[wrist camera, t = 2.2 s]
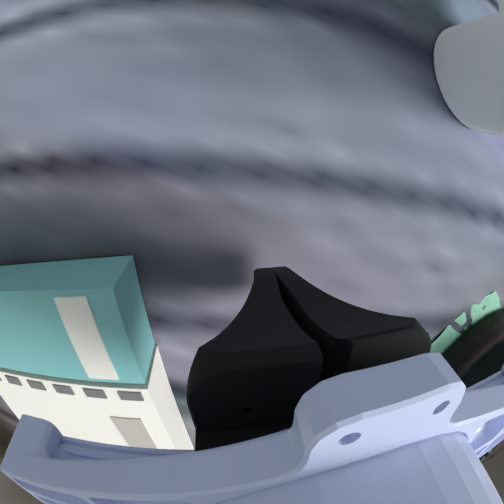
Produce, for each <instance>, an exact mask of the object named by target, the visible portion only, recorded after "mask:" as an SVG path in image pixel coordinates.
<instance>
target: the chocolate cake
mask: <svg viewBox="0 0 504 504" xmlns="http://www.w3.org/2000/svg"><path fill="white" fill-rule="evenodd" d="M484 305H486V308H485V309H482V307H483V306H484ZM471 318H472V319H473V320H472V323H471V324H470V325H469V326H468V327H465V328H464V330H465V331H464V332H462V333H459V332H457V331H456V330H455V329H453V328H452V326H451V325H448V327H447V328H446V329H445V330H444V331H443V333H442V334H441V335H440V336H439V337H438V338H437V339H436V340H435V341H434V342H433V343H432V344H431V350H430V353H438V352H440V354H441V355H442V356H443V357H444V359H445V360H446V361H447V362H448V364H449V365H450V366H451V368H452V369H453V370H454V371H455V373H456V374H457V375H458V377H459V378H460V379H461V380H462V382H463V383H464V385H465V386H466V388H468V387H470V386H472V385H474V384H476V383H478V382H480V381H482V380H484V379H486V378H488V377H490V376H492V375H493V374H495V373H497V372H499V371H500V370H501V369H502V366H503V364H504V308H502V307H500V303H499V297H498V295H497V292H496V291H495V292H493V293H492V294H489V295H487V296H485V297H484V299H483V300H482V301H481V303H480V304H479V305H476V304H474V305H472V306H471ZM454 321H455V322H457V323H458V325H460V326H462V325H464V324H465V322H466V314H465V312H463V313H462V314H461V315H460V316H459V317H458V318H456V319H455V320H454ZM502 449H504V439H503V440H502V441H501V442H499V443H498V444H497V445H496V446H494V447H493V448H492V449H490V450H489V451H488V452H486V453H485V454H484V455H482V456H481V457H480V458H479V460H480V462H481V463H483V462H484V461H486V460H489V459H491V458H492V457H494V456H495V455H496V454H497V453H499V452H500V451H501V450H502Z"/></svg>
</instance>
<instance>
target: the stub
mask: <svg viewBox="0 0 504 504" xmlns="http://www.w3.org/2000/svg"><path fill="white" fill-rule="evenodd" d="M154 344H155V342H154V339H153V336H152V332H151V328H150V325H149V321H148V317H147V314H146V310H145V306H144V302H143V298H142V294H141V290H140V285H139V281H138V276H137V272H136V267H135V263H134V258H133V255H130V256H117V257H104V258H91V259H79V260H66V261H54V262H41V263H29V264H17V265H5V266H0V367H2V368H6V369H11V370H16V371H22V372H27V373H33V374H39V375H46V376H53V377H60V378H68V379H77V380H87V381H99V382H113V383H134V384H145V383H146V378H147V374H148V369H149V365H150V361H151V357H152V353H153V349H154Z"/></svg>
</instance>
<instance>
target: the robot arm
mask: <svg viewBox="0 0 504 504" xmlns="http://www.w3.org/2000/svg"><path fill="white" fill-rule="evenodd" d="M430 350H431V339H430V336H429V334H428V333H427V332H426V331H425V329H424V328H423V327H422V326H421V325H420V324H419V322H418V321H417V320H416V319H415V318H410V317H401V316H393V315H387V314H382V313H378V312H373V311H370V310H366V309H363V308H360V307H357V306H354V305H351V304H348V303H346V302H344V301H341V300H339V299H337V298H335V297H333V296H331V295H329V294H327V293H325V292H323V291H322V290H320V289H318V288H316V287H315V286H313V285H312V284H310V283H309V282H307V281H306V280H304V279H303V278H302V277H300V276H299V275H297V274H296V273H295V272H293V271H292V270H290V269H289V268H287V267H286V266H285V267H273V268H260V269H256V270H255V271H254V282H253V285H252V288H251V291H250V294H249V296H248V298H247V300H246V302H245V304H244V306H243V307H242V309H241V310H240V312H239V313H238V315H237V316H236V317H235V319H234V320H233V321H232V322H231V323H230V325H229V326H228V327H227V328H226V329H225V330H223V331H222V332H221V333H220V334H219V335H218V336H216V337H215V338H214V339H212V340H210V341H209V342H207V343H206V344H204V345H202V346H201V347H199V348H198V351H197V353H196V355H195V358H194V360H193V363H192V366H191V370H190V373H189V377H188V383H187V405H188V408H189V411H190V414H191V417H192V420H193V423H194V426H195V428H196V441H195V450H179V449H155V448H141V447H130V446H121V445H113V444H106V443H99V442H93V441H87V440H81V439H76V438H71V437H67V436H62V434H61V432H60V431H59V429H58V428H57V427H56V426H55V425H54V424H53V423H51V422H49V421H47V420H45V419H41V418H37V417H33V416H29V415H26V414H22V416H21V418H20V420H19V423H18V425H17V427H16V429H15V432H14V434H13V436H12V439H11V441H10V444H9V446H8V448H7V451H6V454H5V456H4V459H3V462H2V464H1V467H0V469H1V471H2V472H3V473H4V474H6V475H7V476H8V477H9V478H10V479H12V480H13V481H14V482H15V483H17V484H18V485H19V486H21V487H22V488H23V489H25V490H26V491H27V492H29V493H30V494H31V495H33V496H34V497H36V498H37V499H39V500H40V501H41V502H43V503H45V504H503V502H502V500H501V498H500V496H499V495H498V493H497V491H496V489H495V487H494V485H493V483H492V481H491V480H490V478H489V476H488V474H487V472H486V470H485V469H484V467H483V465H482V463H481V462H480V460H479V458H480V457H481V456H482V455H484V454H485V453H486V452H488V451H489V450H490V449H492V448H493V447H494V446H496V445H497V444H498V443H499V442H501V441H502V440H503V439H504V364H503V366H502V369H501V370H500V371H499V372H497V373H495V374H493V375H492V376H490V377H488V378H486V379H484V380H482V381H480V382H478V383H476V384H474V385H472V386H470V387H468V388H466V386H465V385H464V383H463V382H462V380H461V379H460V378H459V377H458V375H457V374H456V373H455V371H454V370H453V369H452V368H451V366H450V365H449V364H448V362H447V361H446V360H445V359H444V357H443V356H442V355H441V354H440V352H438V353H430Z"/></svg>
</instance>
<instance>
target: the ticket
mask: <svg viewBox="0 0 504 504" xmlns="http://www.w3.org/2000/svg"><path fill="white" fill-rule="evenodd" d="M0 395H1V396H2V398H3V399H4V400H5V402H6V403H7V404H8V406H9V407H10V408H11V410H12V411H13V412H14V414H15V415H16V416H17V417H18V418H19V420H20V418H21V416H22V414H26V415H29V416H33V417H37V418H41V419H45V420H47V421H49V422H51V423H53V424H54V425H55V426H56V427H57V428H58V429H59V431H60V432H61V434H62V436H67V437H71V438H76V439H81V440H87V441H93V442H99V443H106V444H113V445H121V446H130V447H141V448H155V449H179V450H194V448H193V445H192V443H191V440H190V438H189V436H188V433H187V431H186V428H185V425H184V423H183V420H182V418H181V415H180V412H179V410H178V407H177V404H176V401H175V399H174V396H173V393H172V390H171V387H170V384H169V381H168V378H167V375H166V372H165V369H164V366H163V363H162V359H161V356H160V353H159V349H158V346H157V345H154V349H153V353H152V357H151V361H150V365H149V369H148V374H147V378H146V383H145V384H134V383H113V382H99V381H87V380H77V379H68V378H60V377H53V376H46V375H39V374H33V373H27V372H22V371H16V370H11V369H6V368H2V367H0Z"/></svg>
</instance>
